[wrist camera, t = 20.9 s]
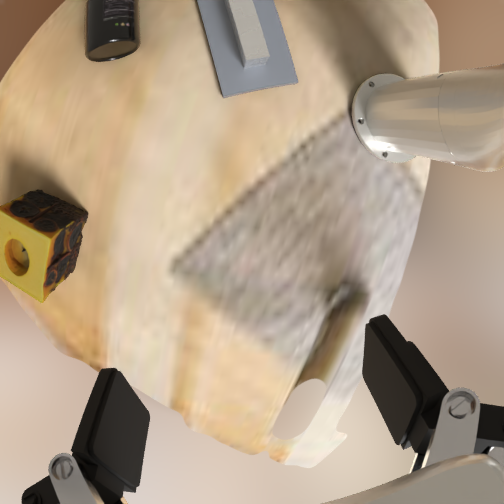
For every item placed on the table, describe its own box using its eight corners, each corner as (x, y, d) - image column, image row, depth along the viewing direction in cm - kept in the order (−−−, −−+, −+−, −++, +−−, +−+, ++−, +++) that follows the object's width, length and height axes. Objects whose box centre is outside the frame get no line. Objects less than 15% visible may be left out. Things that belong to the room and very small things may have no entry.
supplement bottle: (78, 66, 24) (80, -5, 19) (127, 61, 28) (125, -5, 23) (94, 41, 19) (98, -34, 14) (151, 39, 23) (148, -31, 19)
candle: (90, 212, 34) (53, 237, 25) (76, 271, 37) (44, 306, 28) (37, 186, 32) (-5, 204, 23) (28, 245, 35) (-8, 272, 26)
